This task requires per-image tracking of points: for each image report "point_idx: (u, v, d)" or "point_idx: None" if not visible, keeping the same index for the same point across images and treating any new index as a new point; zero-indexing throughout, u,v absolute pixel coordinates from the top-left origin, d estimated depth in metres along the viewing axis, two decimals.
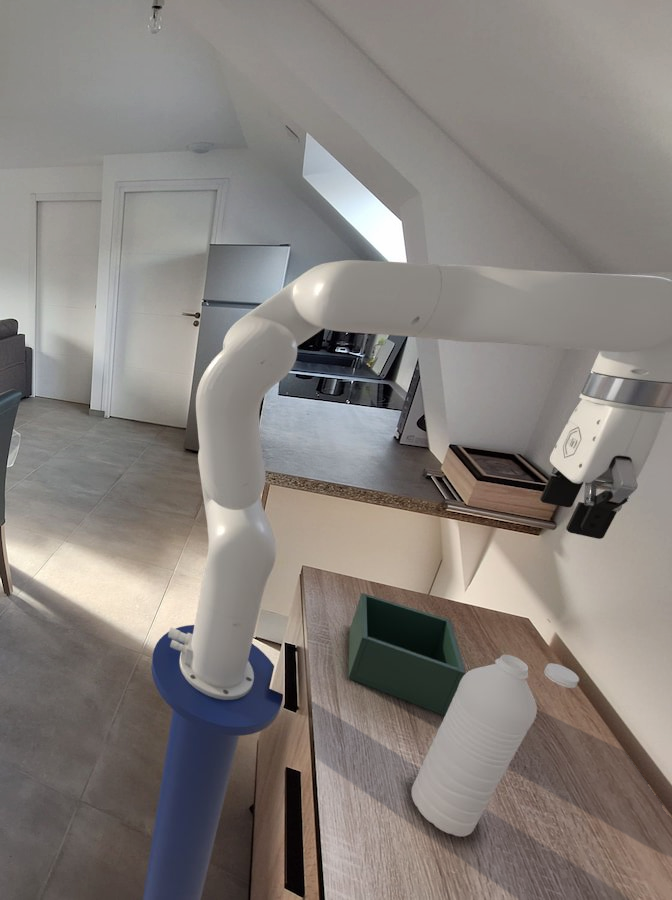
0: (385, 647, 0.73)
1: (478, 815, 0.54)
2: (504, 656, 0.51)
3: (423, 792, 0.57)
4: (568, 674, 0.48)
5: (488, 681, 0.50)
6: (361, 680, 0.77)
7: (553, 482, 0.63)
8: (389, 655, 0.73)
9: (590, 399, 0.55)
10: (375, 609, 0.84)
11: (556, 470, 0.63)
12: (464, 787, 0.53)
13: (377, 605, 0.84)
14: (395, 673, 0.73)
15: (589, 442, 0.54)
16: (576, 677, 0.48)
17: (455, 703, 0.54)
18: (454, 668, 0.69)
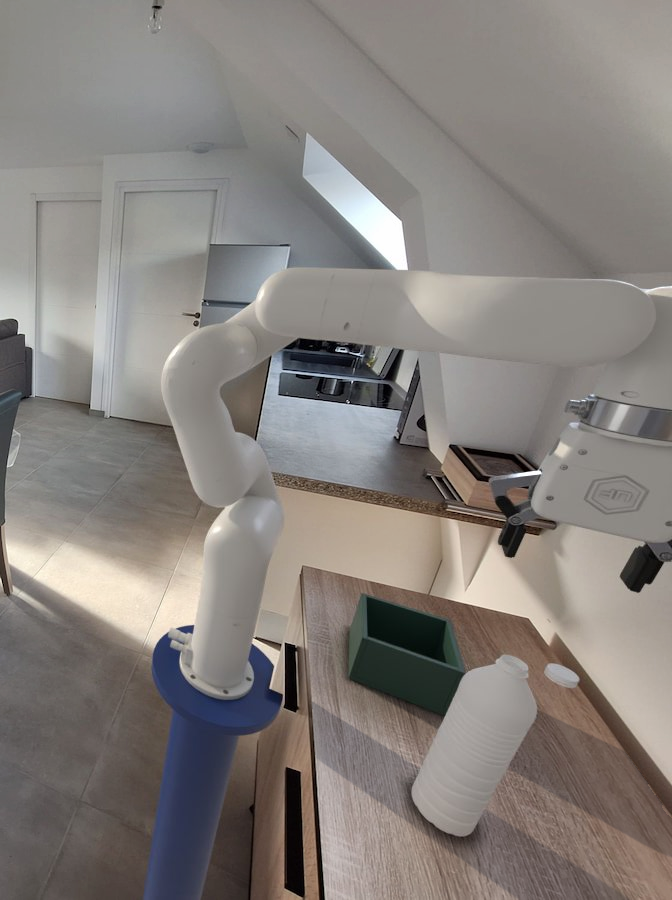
0: (385, 647, 0.73)
1: (478, 815, 0.54)
2: (504, 656, 0.51)
3: (423, 792, 0.57)
4: (568, 674, 0.48)
5: (489, 681, 0.50)
6: (361, 680, 0.77)
7: (523, 533, 0.50)
8: (389, 655, 0.73)
9: (671, 444, 0.41)
10: (375, 609, 0.84)
11: (524, 520, 0.50)
12: (464, 787, 0.53)
13: (377, 605, 0.84)
14: (395, 673, 0.73)
15: None
16: (576, 677, 0.48)
17: (455, 703, 0.54)
18: (454, 668, 0.69)
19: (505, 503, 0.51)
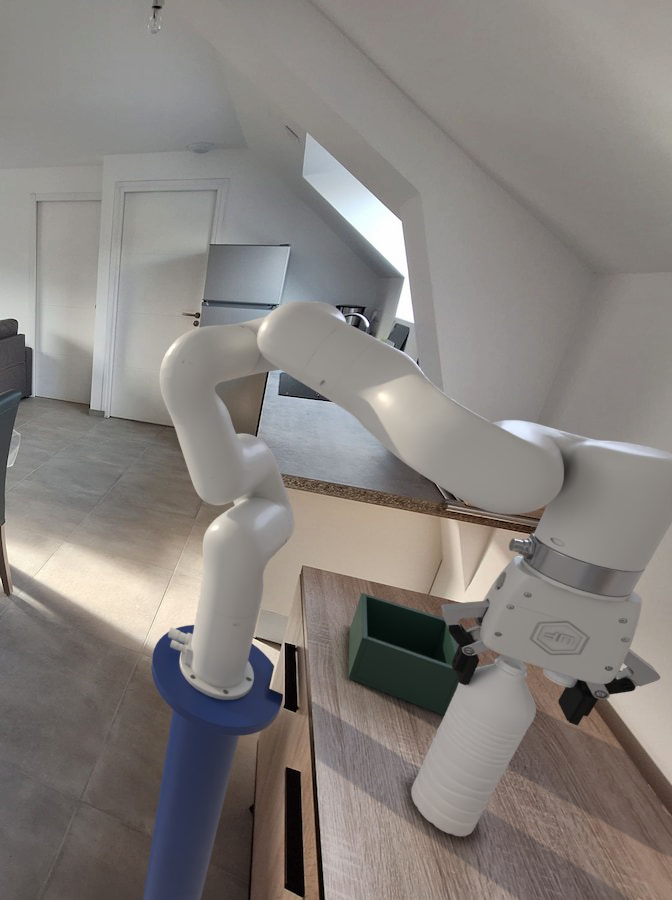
0: (385, 647, 0.73)
1: (478, 815, 0.54)
2: (503, 656, 0.51)
3: (423, 792, 0.57)
4: None
5: (487, 681, 0.50)
6: (361, 680, 0.77)
7: None
8: (389, 655, 0.73)
9: (610, 599, 0.42)
10: (375, 609, 0.84)
11: (477, 651, 0.50)
12: (464, 787, 0.53)
13: (377, 605, 0.84)
14: (395, 673, 0.73)
15: (614, 643, 0.43)
16: None
17: (454, 703, 0.54)
18: None
19: (458, 633, 0.51)
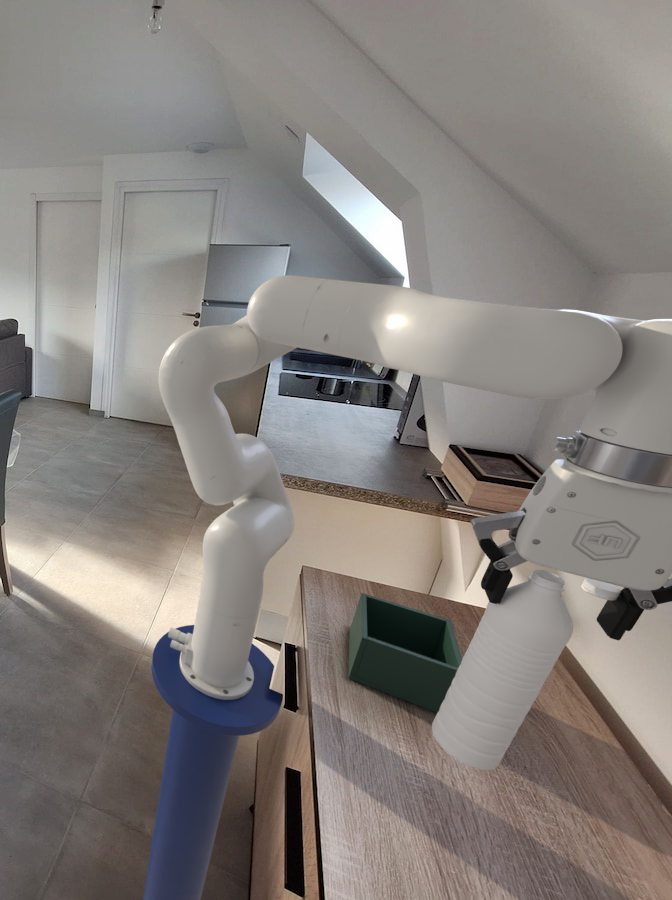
0: (385, 647, 0.73)
1: (505, 746, 0.51)
2: (537, 571, 0.47)
3: (445, 726, 0.54)
4: (608, 586, 0.45)
5: (521, 597, 0.47)
6: (361, 680, 0.77)
7: None
8: (389, 655, 0.73)
9: (666, 490, 0.38)
10: (375, 609, 0.84)
11: (510, 565, 0.47)
12: (491, 715, 0.50)
13: (377, 605, 0.84)
14: (395, 673, 0.73)
15: (668, 542, 0.39)
16: (617, 589, 0.44)
17: (482, 626, 0.50)
18: (454, 668, 0.69)
19: (490, 547, 0.47)
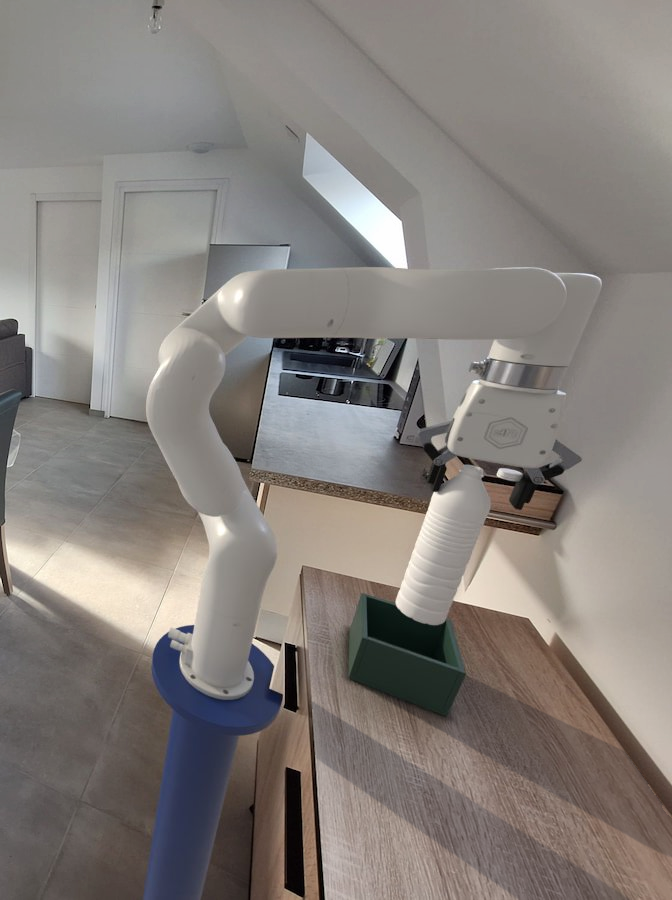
0: (385, 647, 0.73)
1: (447, 604, 0.67)
2: (466, 466, 0.64)
3: (404, 595, 0.71)
4: (514, 472, 0.61)
5: (453, 485, 0.64)
6: (361, 680, 0.77)
7: None
8: (389, 655, 0.73)
9: (541, 391, 0.55)
10: (375, 609, 0.84)
11: (445, 460, 0.64)
12: (435, 578, 0.66)
13: (377, 605, 0.84)
14: (395, 673, 0.73)
15: (546, 430, 0.56)
16: (520, 473, 0.61)
17: (428, 512, 0.67)
18: (454, 668, 0.69)
19: (431, 448, 0.64)
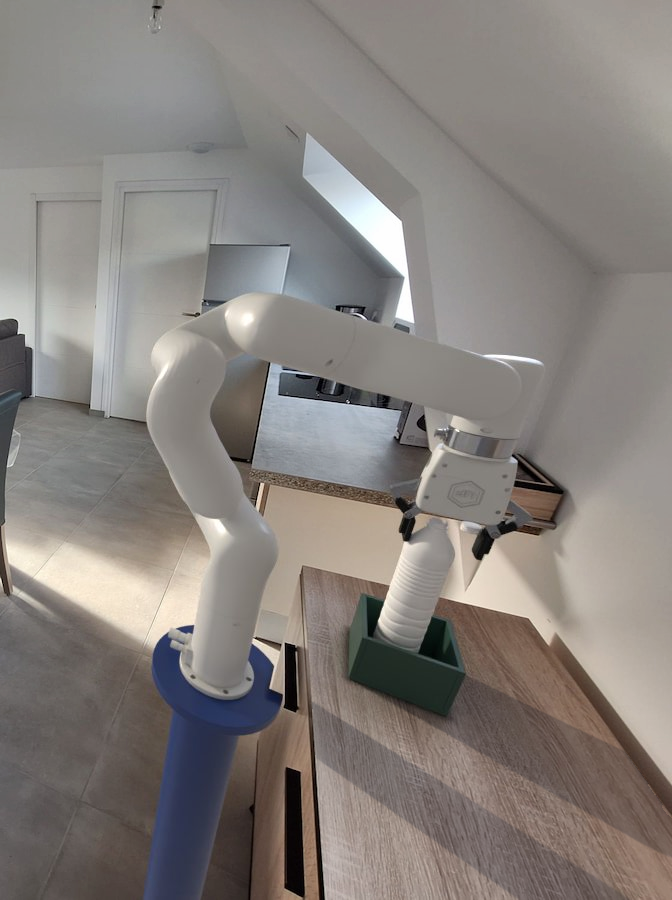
0: (385, 647, 0.73)
1: (418, 641, 0.74)
2: (433, 518, 0.71)
3: (380, 632, 0.78)
4: (475, 526, 0.68)
5: (421, 536, 0.71)
6: (361, 680, 0.77)
7: (414, 524, 0.71)
8: (389, 655, 0.73)
9: (495, 460, 0.62)
10: (375, 609, 0.84)
11: (414, 514, 0.70)
12: (407, 619, 0.73)
13: (377, 605, 0.84)
14: (395, 673, 0.73)
15: (500, 493, 0.63)
16: (480, 527, 0.68)
17: (400, 558, 0.74)
18: (454, 668, 0.69)
19: (401, 503, 0.71)
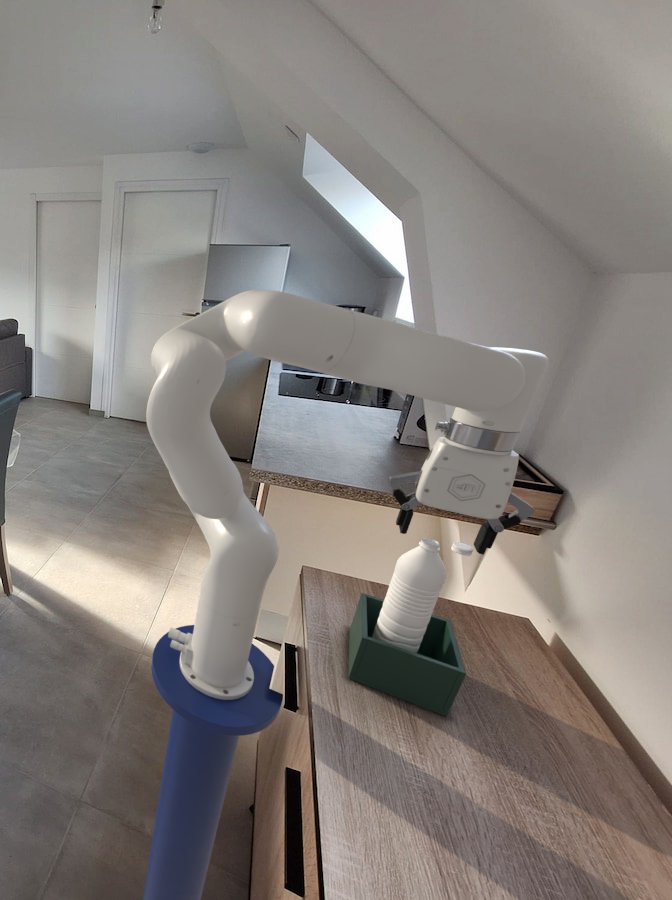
0: (385, 647, 0.73)
1: None
2: (425, 539, 0.72)
3: None
4: (466, 547, 0.70)
5: (413, 556, 0.72)
6: (361, 680, 0.77)
7: None
8: (389, 655, 0.73)
9: (496, 453, 0.61)
10: (375, 609, 0.84)
11: (412, 506, 0.70)
12: (400, 637, 0.75)
13: (377, 605, 0.84)
14: (395, 673, 0.73)
15: (501, 486, 0.63)
16: (471, 548, 0.69)
17: (393, 577, 0.75)
18: (454, 668, 0.69)
19: (399, 494, 0.71)
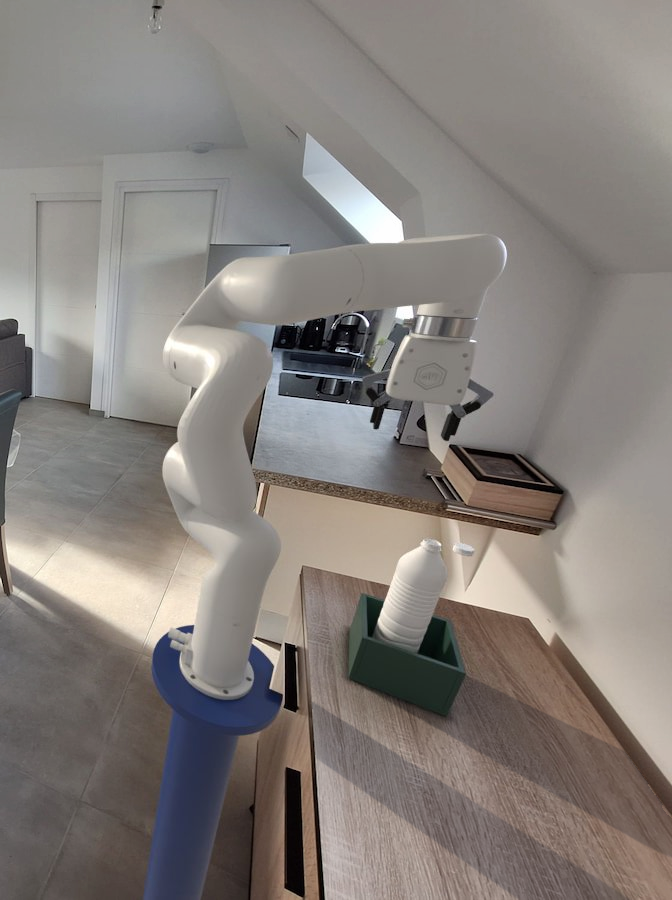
0: (385, 647, 0.73)
1: None
2: (426, 539, 0.72)
3: None
4: (468, 548, 0.70)
5: (415, 556, 0.72)
6: (361, 680, 0.77)
7: (383, 411, 0.76)
8: (389, 655, 0.73)
9: (455, 339, 0.67)
10: (375, 609, 0.84)
11: (383, 401, 0.76)
12: (400, 637, 0.75)
13: (377, 605, 0.84)
14: (395, 673, 0.73)
15: (461, 372, 0.68)
16: (473, 549, 0.69)
17: (394, 577, 0.75)
18: (454, 668, 0.69)
19: (371, 392, 0.76)
